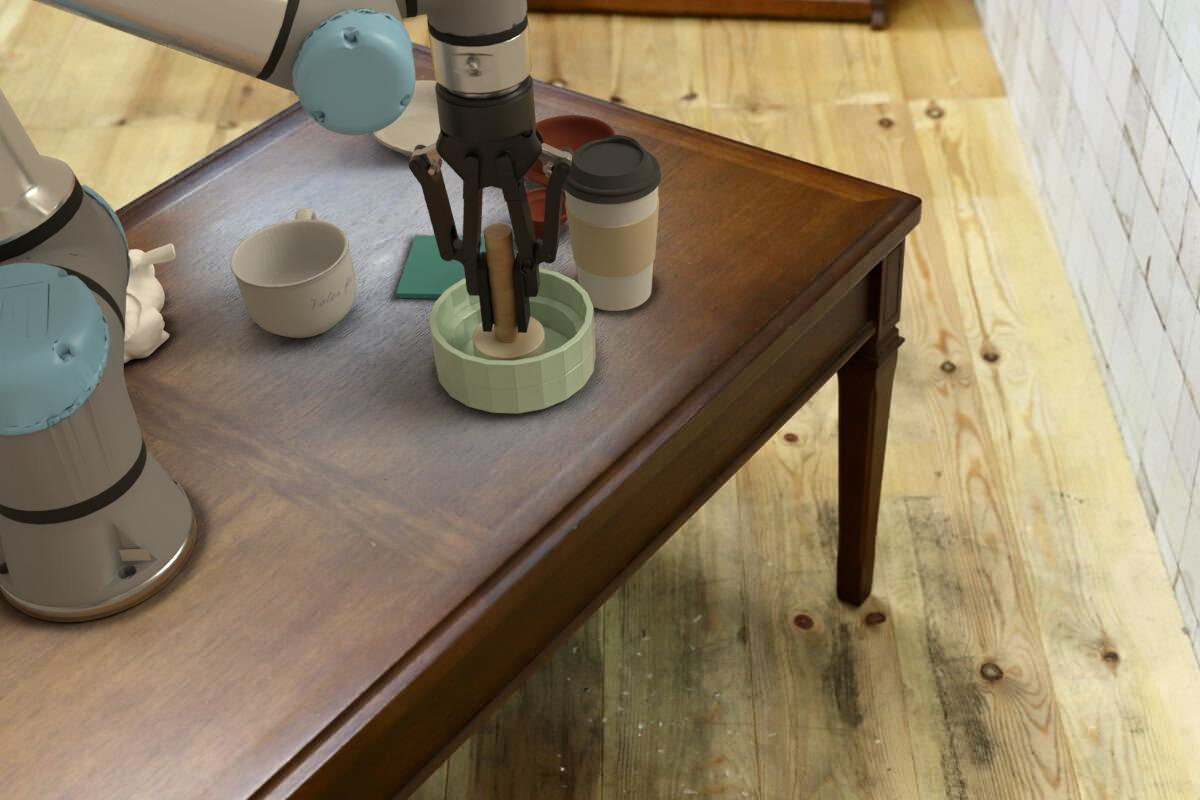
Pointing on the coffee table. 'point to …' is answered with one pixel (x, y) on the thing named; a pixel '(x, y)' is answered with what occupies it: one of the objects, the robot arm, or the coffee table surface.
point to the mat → (429, 270)
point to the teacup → (296, 275)
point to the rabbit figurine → (145, 303)
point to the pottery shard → (414, 122)
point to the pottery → (558, 135)
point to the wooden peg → (505, 305)
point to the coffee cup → (613, 220)
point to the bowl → (524, 379)
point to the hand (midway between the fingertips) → (506, 322)
